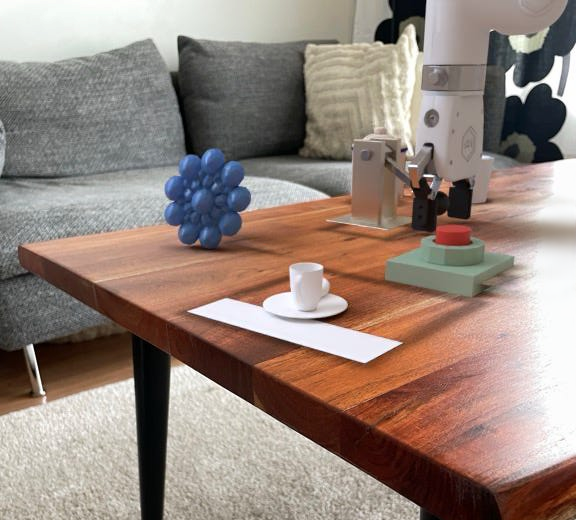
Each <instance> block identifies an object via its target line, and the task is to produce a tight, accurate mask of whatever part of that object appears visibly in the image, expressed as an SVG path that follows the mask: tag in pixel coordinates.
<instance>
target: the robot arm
mask: <svg viewBox="0 0 576 520" xmlns="http://www.w3.org/2000/svg"><path fill="white" fill-rule="evenodd" d="M568 2H569V0H426V4H425V18H424V19H425V21H424V35H423V36H424V37H423V39H424V40H423V50H422V51H423V52H422V55H423V56H422V57H423V58H422V66H421V67H422V70H421V83H420V95H421V96H422V99H421V103H420V108H419V114H418V121H417V128H416V129H417V130H416V138H415V147H414V148H415V149H414V157H415V158H414V159H413V160H412V161H410V162H409V164H408V166H407V172H408V173H409V176H410V187H411V188H410V189H411V194H410V195H411V198H412V211H411V213H412V214H411V217H412V222H411V229H412V230H414V231H420V232H426V233H434V232H436V228H437V222H438V216H437V211H438V199H435V197H436V194H437V192H438V191H439V190H440V187H441V184H442V182H443V181H444V182H445V183H451V186H449V187H448V197H449V200H450V205H449V208H448V210H447V211H446V216H447V217H448V218H451V219H458V220H469V219H470V218H471V216H472V205H473V203H472V195H473V189H470V188H474V186H475V179H474V177H475V175H476V174H477V173H478V172H479V171H480V169H481V162H482V155H483V147H484V145H483V144H484V123H485V121H484V117H485V115H484V114H485V113H484V95H485V87H486V86H485V85H486V76H487V64H488V53H489V45H490V33H491V31H495V32H497V33H499V34H501V35H503V36H510V37H511V36H513V37H514V36H525V35H526V36H527V35H532V34H537V33H539V32H542V31H544V30H546V29H548V28H549V27H552V25H553V24H554V23H556V22H557V21H558V20H559V19H560V17H561V16H562V14H563V13H564V11H565V10H566V7H567V5H568ZM429 183H431V185H429ZM452 185H453V186H455V187H452Z"/></svg>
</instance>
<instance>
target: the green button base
mask: <svg viewBox="0 0 576 520" xmlns="http://www.w3.org/2000/svg"><path fill="white" fill-rule="evenodd" d="M435 237H436V234H434V235H428V236H426V237H421V239H420V247H417V248H415V249H412V250H409V251H407V252H404V253H401V254H399V255H396V256H394V257H391V258H388V259H386V260H385V273H384V274H385V275H384V280H385V281H389V282H393V283H398V284H404V285H409V286H413V287H419V288H423V289H429V290H434V291H438V292H443V293H449V294H454V295H459V296H464V297H469V298H473V297H475V296H477V295H479V294H480V293H482V292H484V291H486V290H488V289H490V288H492V287H493V285H491V284H485V283H483V282H485V281H488V280H489V279H491V278H493V277H496V276H497V275H499V274H501V273H503V272H505V271H507V270H508V269H511V268H512V267H514V264H515V255H509V254H504V253H497V252H493V251H492V252H491V251H485V247H486V244H485V242H484V240H483V239H480V238H477V237H474V236H471V238H470V245H467V246H446V245H439V244H436V243H435Z"/></svg>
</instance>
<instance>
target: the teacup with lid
mask: <svg viewBox="0 0 576 520" xmlns="http://www.w3.org/2000/svg"><path fill="white" fill-rule="evenodd" d="M387 131H388V129H387V127H385V126H375V127H374V128H373V133H370V134H368V135H366V136H365V137H364V138H362V140H370V137H383V138H396V137H395V136H394V135H392V134H389V133H387ZM350 150H351V151H352V152H351V153H352V155H351V171H352V170H353V143H352V145H351V147H350ZM407 151H409V147H408V144H407V143H406V142H404V141H401V152H400V166H401V167H402V168H403V169H404V170H406V165H407V162H411V161H412V160H413V159H414V158H415V156H412V155H411V156H409V155H407ZM350 182H351V183H350V196H351V197H352V178H351V181H350ZM406 189H407V190H409V189H411V188H410V187H409V186H407V185H406V184H405V183H404V182H403V181H401V180H400V179H399V186H398V199H401V198H403V197H405V196H404V195H405V190H406Z"/></svg>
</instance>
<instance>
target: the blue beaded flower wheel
mask: <svg viewBox="0 0 576 520" xmlns="http://www.w3.org/2000/svg"><path fill="white" fill-rule="evenodd" d="M245 173H246V171H245V168H244V165H243V164H241V162H240V161H235V160H230V161H228V162H226V156H225V154H224V153H223V151H222V150H220V149H218V148H210V149H207V150H206V151H205V152H204V154H203V155H202V156H201V158H200V157H199V156H198V155H196V154H187V155H185V156H184V157H183V158H182V159H181V160H180V162H179V164H178V174H179V175H173V176H171V177H169V179H168V180H167V181H166V182H165V184H164V189H163V190H164V195H165V197H166V198H167V199H168V200H169V201H171V202H170V203H168V204H167V206H166V207H165V209H164V213H163V216H164V219H165V222H166V223H167V224H168V225H169V226H172V227H178V229H177V237H178V240H179V241H180V242H181V243H182V244H183V245H189V246H191V245H193V244H196V242H197V241H198V242H199V244H200V246H202V247H203V248H204V249H208V250H209V249H210V250H212V249H215V248H217V247H218V245H219V244H220V243H221V242H222V240H223V239H222V238H223V236H224V237H225V236H226V237H233V236H235V235H237V234H238V233H239V232H240V230H241V229H242V227H243V218H242V216H241V214H240V213H242V212H244V211H246V209H247V208H248V207H249V206H250V204H251V202H252V194H251V193H252V192H251V191H250V189H249V188H248V187H246V186H243V185H240V184H241V183H242V182H243V180H244V179H245Z"/></svg>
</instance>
